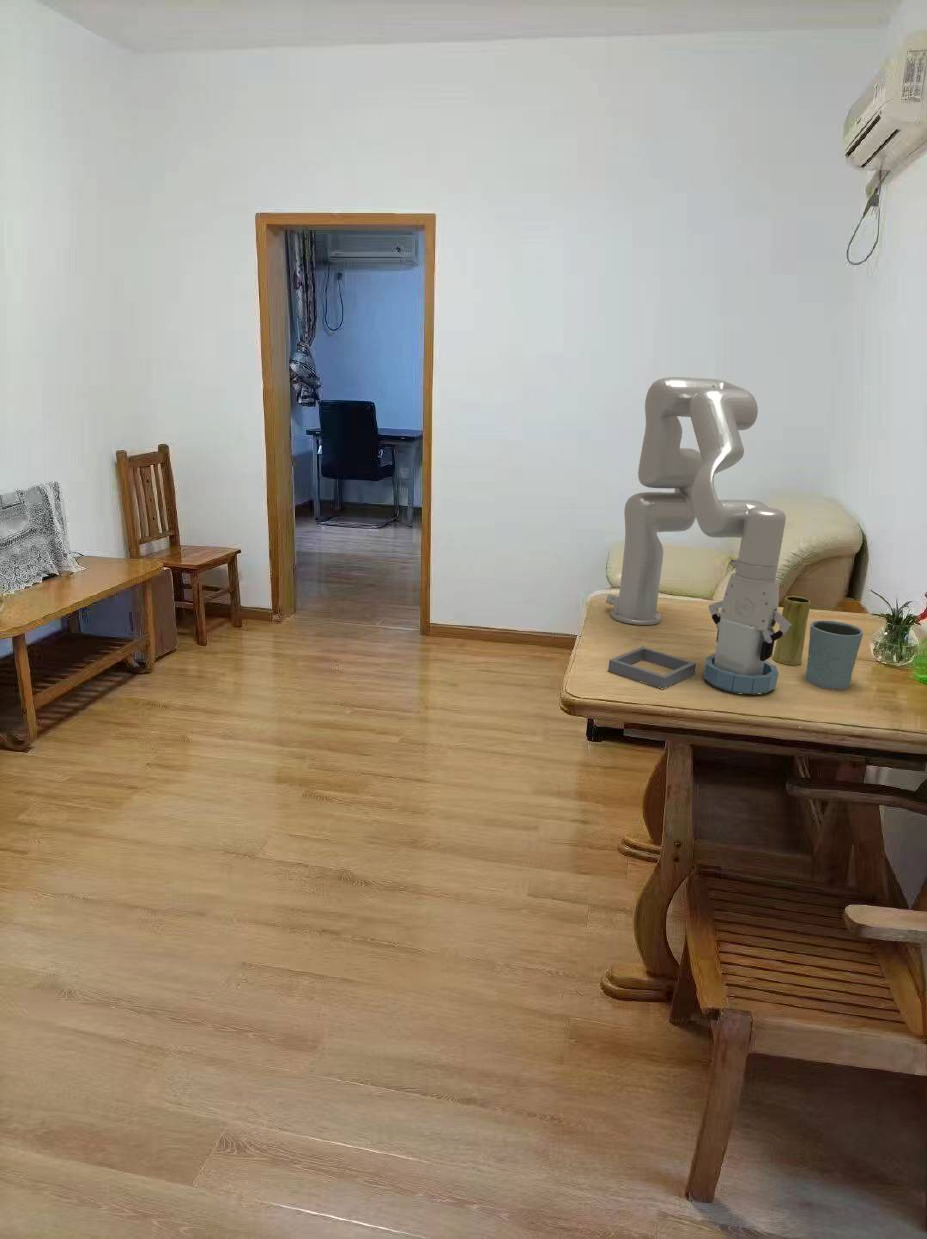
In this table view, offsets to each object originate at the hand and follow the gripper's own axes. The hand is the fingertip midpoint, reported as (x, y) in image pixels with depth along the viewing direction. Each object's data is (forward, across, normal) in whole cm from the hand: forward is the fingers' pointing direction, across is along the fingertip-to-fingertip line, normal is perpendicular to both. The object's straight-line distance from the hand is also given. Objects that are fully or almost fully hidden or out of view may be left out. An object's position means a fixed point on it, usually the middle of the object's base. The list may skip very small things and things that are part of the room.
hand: (742, 653), depth 173 cm
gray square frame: (+7, -15, -9) cm, 19 cm away
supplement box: (+6, 0, 0) cm, 6 cm away
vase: (+7, +1, +22) cm, 23 cm away
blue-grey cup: (+7, +12, +16) cm, 21 cm away
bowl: (+7, 0, 0) cm, 7 cm away
